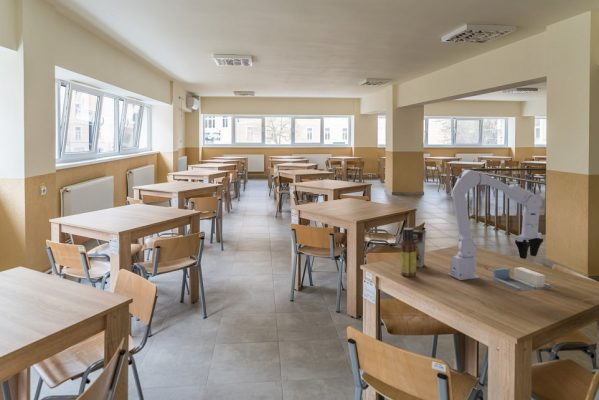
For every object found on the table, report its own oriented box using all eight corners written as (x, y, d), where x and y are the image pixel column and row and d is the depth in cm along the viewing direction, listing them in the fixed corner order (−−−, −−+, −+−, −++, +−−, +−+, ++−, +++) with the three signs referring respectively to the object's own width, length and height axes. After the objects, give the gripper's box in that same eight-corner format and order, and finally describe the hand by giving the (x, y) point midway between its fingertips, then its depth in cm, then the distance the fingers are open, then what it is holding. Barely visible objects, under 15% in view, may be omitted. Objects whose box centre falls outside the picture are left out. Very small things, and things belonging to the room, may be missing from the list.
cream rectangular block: (536, 287, 172) (537, 276, 172) (513, 278, 184) (514, 267, 183) (544, 286, 173) (545, 275, 173) (521, 277, 185) (522, 267, 184)
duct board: (516, 292, 168) (517, 280, 167) (488, 280, 183) (488, 269, 183) (556, 288, 172) (557, 277, 172) (525, 276, 188) (526, 266, 187)
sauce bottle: (414, 273, 193) (416, 227, 190) (417, 277, 187) (418, 230, 184) (399, 272, 193) (400, 226, 191) (401, 277, 187) (402, 229, 185)
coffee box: (401, 265, 205) (402, 230, 203) (404, 262, 211) (405, 228, 209) (421, 268, 201) (422, 232, 199) (424, 264, 207) (425, 229, 205)
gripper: (530, 227, 173) (528, 261, 175) (550, 223, 181) (547, 256, 183) (512, 224, 179) (510, 257, 180) (532, 220, 187) (530, 253, 189)
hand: (528, 257), depth 182 cm, fingers open, 7 cm apart
